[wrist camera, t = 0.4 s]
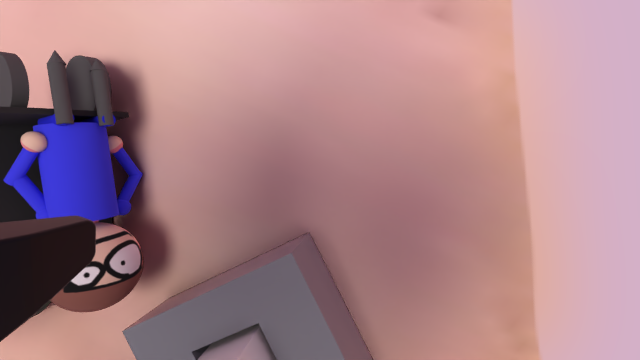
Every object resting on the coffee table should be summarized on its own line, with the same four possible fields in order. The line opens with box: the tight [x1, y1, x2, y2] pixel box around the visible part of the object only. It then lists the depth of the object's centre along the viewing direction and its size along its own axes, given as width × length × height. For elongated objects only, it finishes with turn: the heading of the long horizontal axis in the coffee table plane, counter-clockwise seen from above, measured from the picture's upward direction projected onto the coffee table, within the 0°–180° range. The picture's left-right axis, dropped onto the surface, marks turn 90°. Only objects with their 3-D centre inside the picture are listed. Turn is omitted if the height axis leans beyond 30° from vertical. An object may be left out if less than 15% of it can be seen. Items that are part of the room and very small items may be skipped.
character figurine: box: [0, 50, 143, 312], centre depth 21 cm, size 8×7×15 cm
